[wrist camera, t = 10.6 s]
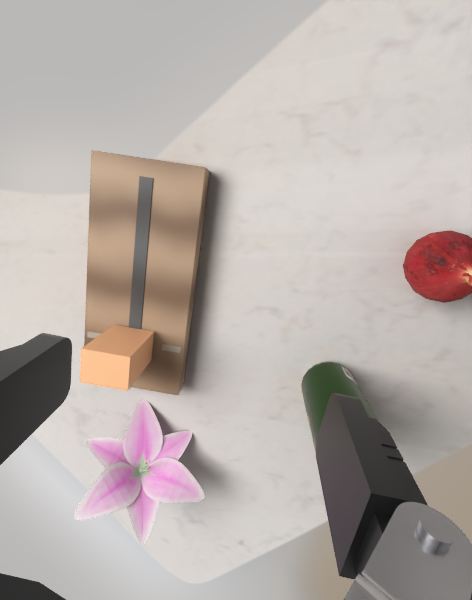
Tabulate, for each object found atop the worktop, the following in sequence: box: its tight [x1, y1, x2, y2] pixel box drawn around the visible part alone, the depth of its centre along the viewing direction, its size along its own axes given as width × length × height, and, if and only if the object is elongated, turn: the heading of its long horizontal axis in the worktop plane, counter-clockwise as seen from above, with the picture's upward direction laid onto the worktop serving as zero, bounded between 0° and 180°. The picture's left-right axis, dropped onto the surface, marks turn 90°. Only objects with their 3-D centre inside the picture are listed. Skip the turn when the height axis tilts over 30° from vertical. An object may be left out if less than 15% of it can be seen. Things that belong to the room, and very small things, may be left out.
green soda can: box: [302, 362, 378, 451], centre depth 29 cm, size 5×5×12 cm
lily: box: [74, 399, 205, 544], centre depth 35 cm, size 12×12×10 cm
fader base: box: [84, 150, 210, 395], centre depth 33 cm, size 22×10×3 cm, turn 171°
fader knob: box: [80, 325, 154, 391], centre depth 30 cm, size 3×4×6 cm
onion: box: [403, 231, 472, 302], centre depth 27 cm, size 6×6×8 cm
